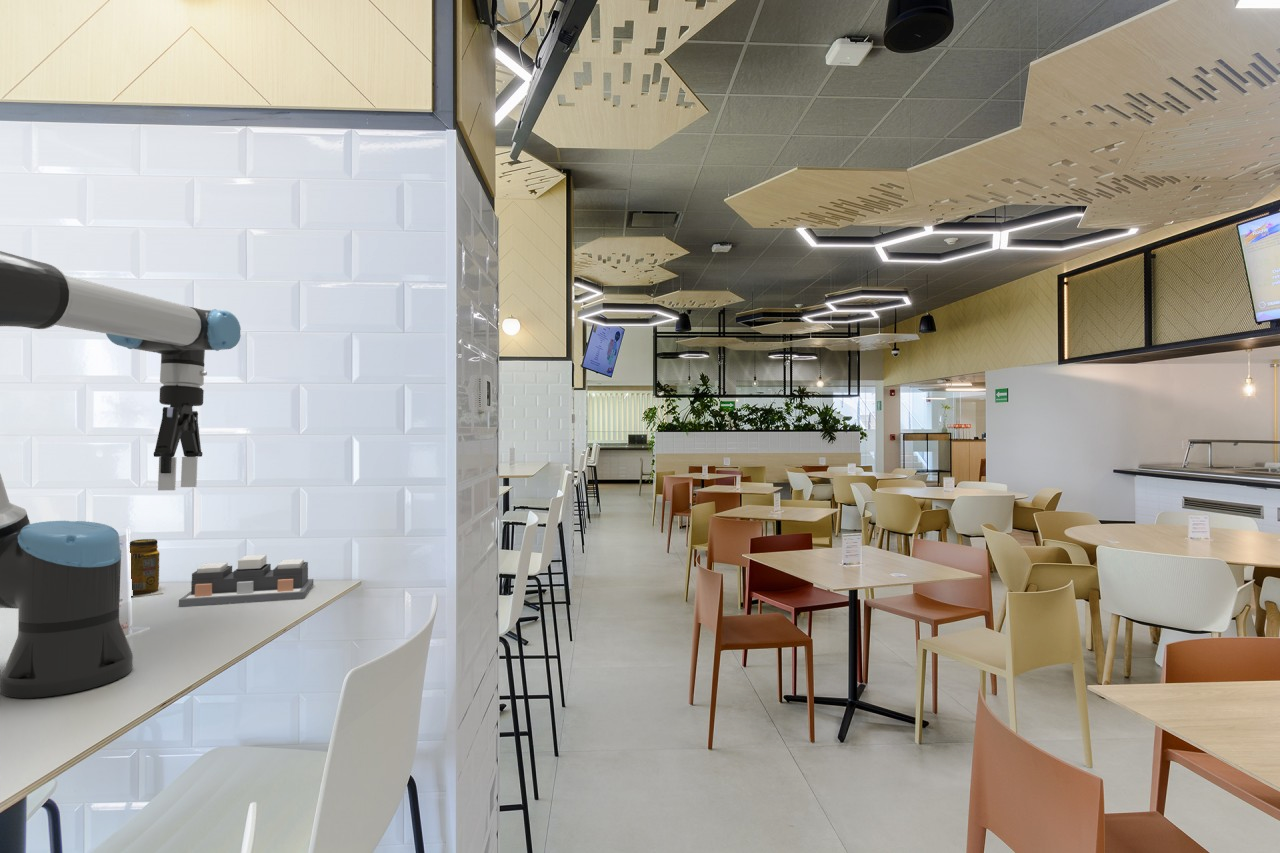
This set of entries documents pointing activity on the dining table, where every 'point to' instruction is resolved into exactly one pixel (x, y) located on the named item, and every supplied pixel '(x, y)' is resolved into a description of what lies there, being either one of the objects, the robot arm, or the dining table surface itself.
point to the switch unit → (248, 586)
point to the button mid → (252, 562)
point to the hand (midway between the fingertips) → (178, 488)
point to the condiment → (145, 567)
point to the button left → (212, 567)
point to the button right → (291, 564)
